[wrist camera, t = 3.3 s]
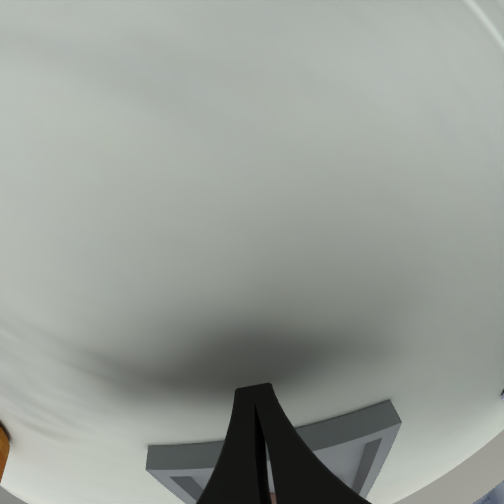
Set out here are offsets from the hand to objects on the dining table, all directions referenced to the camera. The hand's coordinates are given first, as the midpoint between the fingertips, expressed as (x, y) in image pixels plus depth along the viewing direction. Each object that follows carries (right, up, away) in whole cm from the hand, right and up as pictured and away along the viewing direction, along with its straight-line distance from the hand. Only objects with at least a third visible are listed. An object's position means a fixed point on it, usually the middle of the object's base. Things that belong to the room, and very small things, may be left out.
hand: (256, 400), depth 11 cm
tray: (+2, -12, +7) cm, 14 cm away
